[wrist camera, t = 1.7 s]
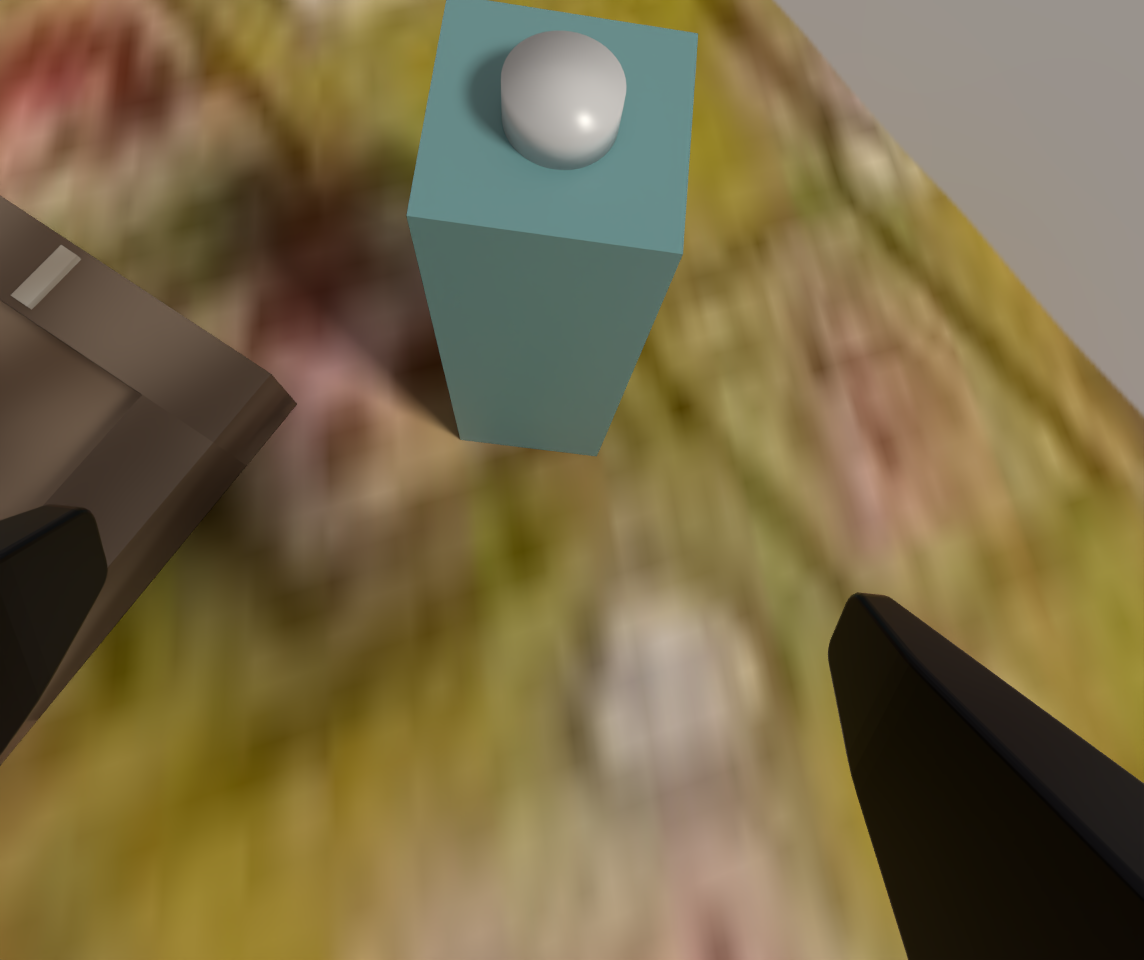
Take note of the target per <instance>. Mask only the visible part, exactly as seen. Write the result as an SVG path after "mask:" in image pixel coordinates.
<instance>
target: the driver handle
mask: <svg viewBox="0 0 1144 960" xmlns="http://www.w3.org/2000/svg"><path fill="white" fill-rule="evenodd" d="M697 41H698V33H691V32H685V31H679V30H672V29H666V28H659V27H653V26H647V25H640V24H634V23H628V22H621V21H615V20H608V19H602V18H596V17H589V16H583V15H577V14H570V13H564V12H558V11H551V10H545V9H538V8H532V7H526V6H519V5H513V4H507V3H500V2H494V1H487V0H446V5H445V10H444V16H443V21H442V27H441V32H440V37H439V43H438V48H437V54H436V59H435V64H434V70H433V75H432V81H431V86H430V91H429V97H428V102H427V108H426V113H425V118H424V124H423V129H422V135H421V140H420V145H419V151H418V156H417V162H416V167H415V172H414V178H413V183H412V189H411V194H410V199H409V205H408V210H407V220H408V224H409V228H410V233H411V237H412V241H413V245H414V249H415V253H416V257H417V262H418V266H419V270H420V274H421V278H422V282H423V286H424V291H425V295H426V299H427V303H428V307H429V311H430V315H431V320H432V324H433V328H434V332H435V336H436V340H437V344H438V349H439V353H440V357H441V361H442V365H443V369H444V373H445V378H446V382H447V386H448V390H449V394H450V398H451V403H452V407H453V411H454V415H455V419H456V423H457V427H458V432H459V436H460V440H467V441H475V442H484V443H492V444H500V445H508V446H516V447H525V448H533V449H541V450H549V451H558V452H566V453H574V454H582V455H590V456H597V454H598V452H599V450H600V447H601V445H602V443H603V440H604V438H605V436H606V433H607V431H608V429H609V426H610V424H611V421H612V419H613V417H614V414H615V412H616V410H617V407H618V405H619V403H620V400H621V398H622V396H623V393H624V391H625V389H626V386H627V384H628V382H629V379H630V377H631V374H632V372H633V370H634V367H635V365H636V363H637V360H638V358H639V356H640V353H641V351H642V349H643V346H644V344H645V342H646V339H647V337H648V335H649V332H650V330H651V328H652V325H653V323H654V320H655V318H656V316H657V313H658V311H659V309H660V306H661V304H662V302H663V299H664V297H665V295H666V292H667V290H668V288H669V285H670V283H671V281H672V278H673V276H674V273H675V271H676V269H677V266H678V264H679V262H680V259H681V257H682V255H683V243H684V229H685V214H686V200H687V185H688V171H689V157H690V142H691V128H692V113H693V99H694V85H695V70H696V56H697Z"/></svg>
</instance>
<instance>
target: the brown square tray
mask: <svg viewBox="0 0 1144 960" xmlns="http://www.w3.org/2000/svg"><path fill="white" fill-rule="evenodd" d="M296 405H297V403H296V402H295V401H294V400H293V399H292V398H291V396H290V395H289V394H288V393H287V392H286V391H285V390H284V388H283V387H282V386H281V385H280V384H279V383H278V381H277V380H276V379H275V378H274V377H273V376H272V374H270V373H269V372H267V371H266V370H264V369H263V368H261V367H260V366H258V365H257V364H255V363H254V362H252V361H251V360H249V359H248V358H246V357H245V356H243V355H242V354H240V353H238V352H237V351H235V350H234V349H232V348H231V347H229V346H228V345H226V344H225V343H223V342H222V341H220V340H219V339H217V338H216V337H214V336H213V335H211V334H210V333H208V332H207V331H205V330H204V329H202V328H201V327H199V326H197V325H196V324H194V323H193V322H191V321H190V320H188V319H187V318H185V317H184V316H182V315H181V314H179V313H178V312H176V311H175V310H173V309H172V308H170V307H169V306H167V305H166V304H164V303H163V302H161V301H160V300H158V299H156V298H155V297H153V296H152V295H150V294H149V293H147V292H146V291H144V290H143V289H141V288H140V287H138V286H137V285H135V284H134V283H132V282H131V281H129V280H128V279H126V278H125V277H123V276H122V275H120V274H118V273H117V272H115V271H114V270H112V269H111V268H109V267H108V266H106V265H105V264H103V263H102V262H100V261H99V260H97V259H96V258H94V257H93V256H91V255H90V254H88V253H87V252H85V251H84V250H82V249H81V248H79V247H77V246H76V245H74V244H73V243H71V242H70V241H68V240H67V239H65V238H64V237H62V236H61V235H59V234H58V233H56V232H55V231H53V230H52V229H50V228H49V227H47V226H46V225H44V224H43V223H41V222H39V221H38V220H36V219H35V218H33V217H32V216H30V215H29V214H27V213H26V212H24V211H23V210H21V209H20V208H18V207H17V206H15V205H14V204H12V203H11V202H9V201H8V200H6V199H5V198H3V197H2V196H0V520H2V519H5V518H8V517H11V516H14V515H17V514H20V513H23V512H26V511H29V510H32V509H35V508H38V507H40V506H43V505H47V504H59V505H68V506H77V507H84V508H86V509H88V510H90V511H91V512H92V514H93V515H94V516H95V519H96V522H97V526H98V530H99V534H100V537H101V541H102V545H103V549H104V553H105V556H106V560H107V566H108V573H107V578H106V581H105V584H104V586H103V588H102V590H101V592H100V594H99V596H98V597H97V599H96V601H95V603H94V605H93V606H92V608H91V610H90V612H89V613H88V615H87V617H86V619H85V621H84V622H83V624H82V626H81V628H80V630H79V631H78V633H77V635H76V637H75V638H74V640H73V642H72V644H71V646H70V647H69V649H68V651H67V653H66V655H65V656H64V658H63V660H62V662H61V664H60V665H59V667H58V669H57V671H56V672H55V674H54V676H53V678H52V680H51V681H50V683H49V685H48V686H47V688H46V690H45V691H44V693H43V694H42V696H41V698H40V699H39V701H38V702H37V704H36V705H35V707H34V708H33V710H32V711H31V713H30V714H29V716H28V717H27V719H26V720H25V722H24V723H23V725H22V726H21V727H20V729H19V730H18V732H17V733H16V735H15V736H14V737H13V739H12V740H11V742H10V743H9V744H8V746H7V747H6V749H5V750H4V752H3V753H2V754H1V756H0V765H1V764H2V763H3V761H4V760H5V759H6V758H7V757H8V755H9V754H10V753H11V752H12V750H13V749H14V748H15V747H16V746H17V744H18V743H19V742H20V741H21V739H22V738H23V737H24V736H25V735H26V733H27V732H28V731H29V730H30V729H31V727H32V726H33V725H34V724H35V722H36V721H37V720H38V719H39V718H40V716H41V715H42V714H43V713H44V711H45V710H46V709H47V708H48V707H49V705H50V704H51V703H52V702H53V701H54V699H55V698H56V697H57V696H58V694H59V693H60V692H61V691H62V690H63V688H64V687H65V686H66V685H67V683H68V682H69V681H70V680H71V679H72V677H73V676H74V675H75V674H76V673H77V671H78V670H79V669H80V668H81V666H82V665H83V664H84V663H85V662H86V660H87V659H88V658H89V657H90V655H91V654H92V653H93V652H94V651H95V649H96V648H97V647H98V646H99V645H100V643H101V642H102V641H103V640H104V638H105V637H106V636H107V635H108V634H109V632H110V631H111V630H112V629H113V627H114V626H115V625H116V624H117V623H118V621H119V620H120V619H121V618H122V617H123V615H124V614H125V613H126V612H127V610H128V609H129V608H130V607H131V606H132V604H133V603H134V602H135V601H136V599H137V598H138V597H139V596H140V595H141V593H142V592H143V591H144V590H145V589H146V587H147V586H148V585H149V584H150V582H151V581H152V580H153V579H154V578H155V576H156V575H157V574H158V573H159V571H160V570H161V569H162V568H163V567H164V565H165V564H166V563H167V562H168V561H169V559H170V558H171V557H172V556H173V554H174V553H175V552H176V551H177V550H178V548H179V547H180V546H181V545H182V543H183V542H184V541H185V540H186V539H187V537H188V536H189V535H190V534H191V533H192V531H193V530H194V529H195V528H196V526H197V525H198V524H199V523H200V522H201V520H202V519H203V518H204V517H205V515H206V514H207V513H208V512H209V511H210V509H211V508H212V507H213V506H214V505H215V503H216V502H217V501H218V500H219V498H220V497H221V496H222V495H223V494H224V492H225V491H226V490H227V489H228V487H229V486H230V485H231V484H232V483H233V481H234V480H235V479H236V478H237V477H238V475H239V474H240V473H241V472H242V470H243V469H244V468H245V467H246V466H247V464H248V463H249V462H250V461H251V459H252V458H253V457H254V456H255V455H256V453H257V452H258V451H259V450H260V449H261V447H262V446H263V445H264V444H265V442H266V441H267V440H268V439H269V438H270V436H271V435H272V434H273V433H274V431H275V430H276V429H277V428H278V427H279V425H280V424H281V423H282V422H283V421H284V419H285V418H286V417H287V416H288V414H289V413H290V412H291V411H292V410H293V408H294V407H295V406H296Z"/></svg>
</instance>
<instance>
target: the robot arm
mask: <svg viewBox="0 0 1144 960" xmlns="http://www.w3.org/2000/svg"><path fill="white" fill-rule="evenodd" d="M107 573H108V566H107V560H106V556H105V553H104V549H103V545H102V541H101V537H100V534H99V530H98V526H97V522H96V519H95V516H94V515H93V514H92V512H91V511H90V510H88V509H86V508H84V507H77V506H68V505H59V504H47V505H43V506H40V507H38V508H35V509H32V510H29V511H26V512H23V513H20V514H17V515H14V516H11V517H8V518H5V519H2V520H0V756H1V754H2V753H3V752H4V750H5V749H6V747H7V746H8V744H9V743H10V742H11V740H12V739H13V737H14V736H15V735H16V733H17V732H18V730H19V729H20V727H21V726H22V725H23V723H24V722H25V720H26V719H27V717H28V716H29V714H30V713H31V711H32V710H33V708H34V707H35V705H36V704H37V702H38V701H39V699H40V698H41V696H42V694H43V693H44V691H45V690H46V688H47V686H48V685H49V683H50V681H51V680H52V678H53V676H54V674H55V672H56V671H57V669H58V667H59V665H60V664H61V662H62V660H63V658H64V656H65V655H66V653H67V651H68V649H69V647H70V646H71V644H72V642H73V640H74V638H75V637H76V635H77V633H78V631H79V630H80V628H81V626H82V624H83V622H84V621H85V619H86V617H87V615H88V613H89V612H90V610H91V608H92V606H93V605H94V603H95V601H96V599H97V597H98V596H99V594H100V592H101V590H102V588H103V586H104V584H105V581H106V578H107ZM828 661H829V667H830V672H831V677H832V682H833V687H834V692H835V697H836V702H837V707H838V713H839V718H840V723H841V728H842V733H843V738H844V743H845V748H846V754H847V758H848V763H849V767H850V771H851V776H852V779H853V783H854V786H855V790H856V793H857V797H858V800H859V803H860V806H861V810H862V813H863V816H864V819H865V822H866V826H867V829H868V832H869V835H870V838H871V842H872V845H873V848H874V851H875V854H876V858H877V861H878V864H879V867H880V871H881V874H882V877H883V880H884V883H885V887H886V890H887V893H888V896H889V899H890V903H891V906H892V909H893V912H894V915H895V919H896V922H897V925H898V928H899V931H900V935H901V938H902V941H903V944H904V948H905V951H906V954H907V957H908V960H1144V783H1143V782H1141V781H1140V780H1138V779H1137V778H1136V777H1134V776H1133V775H1132V774H1130V773H1129V772H1127V771H1126V770H1125V769H1123V768H1122V767H1121V766H1119V765H1118V764H1117V763H1115V762H1114V761H1112V760H1111V759H1110V758H1108V757H1107V756H1106V755H1104V754H1103V753H1102V752H1100V751H1099V750H1097V749H1096V748H1095V747H1093V746H1092V745H1091V744H1089V743H1088V742H1087V741H1085V740H1084V739H1082V738H1081V737H1080V736H1078V735H1077V734H1076V733H1074V732H1073V731H1072V730H1070V729H1069V728H1067V727H1066V726H1065V725H1063V724H1062V723H1061V722H1059V721H1058V720H1057V719H1055V718H1054V717H1052V716H1051V715H1050V714H1048V713H1047V712H1046V711H1044V710H1043V709H1042V708H1040V707H1039V706H1037V705H1036V704H1035V703H1033V702H1032V701H1031V700H1029V699H1028V698H1027V697H1025V696H1024V695H1022V694H1021V693H1020V692H1018V691H1017V690H1016V689H1014V688H1013V687H1012V686H1010V685H1009V684H1007V683H1006V682H1005V681H1003V680H1002V679H1001V678H999V677H998V676H997V675H995V674H994V673H992V672H991V671H990V670H988V669H987V668H986V667H984V666H983V665H982V664H980V663H979V662H977V661H976V660H975V659H973V658H972V657H971V656H969V655H968V654H967V653H965V652H964V651H962V650H961V649H960V648H958V647H957V646H956V645H954V644H953V643H952V642H950V641H949V640H947V639H946V638H945V637H943V636H942V635H941V634H939V633H938V632H937V631H935V630H934V629H932V628H931V627H930V626H928V625H927V624H926V623H924V622H923V621H922V620H920V619H919V618H917V617H916V616H915V615H913V614H912V613H911V612H909V611H908V610H907V609H905V608H904V607H902V606H901V605H900V604H898V603H897V602H896V601H894V600H893V599H891V598H890V597H888V596H885V595H877V594H868V593H855V594H853V595H851V596H850V598H849V599H848V601H847V602H846V604H845V607H844V609H843V611H842V614H841V616H840V619H839V621H838V623H837V626H836V628H835V630H834V633H833V635H832V637H831V640H830V643H829V648H828Z"/></svg>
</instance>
